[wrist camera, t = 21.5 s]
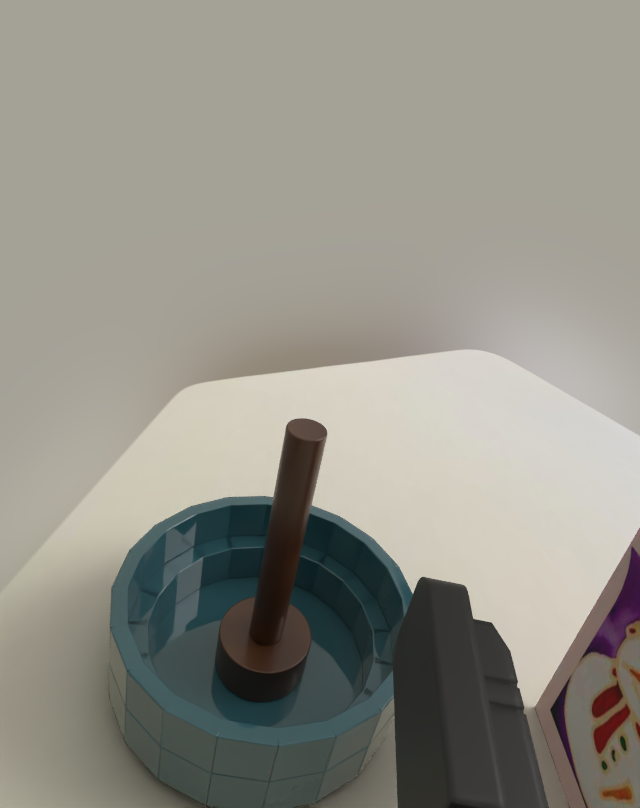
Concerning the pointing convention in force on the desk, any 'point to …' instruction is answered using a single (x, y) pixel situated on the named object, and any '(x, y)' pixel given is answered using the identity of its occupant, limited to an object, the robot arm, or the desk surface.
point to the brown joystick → (275, 583)
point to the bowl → (196, 648)
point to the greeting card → (600, 698)
